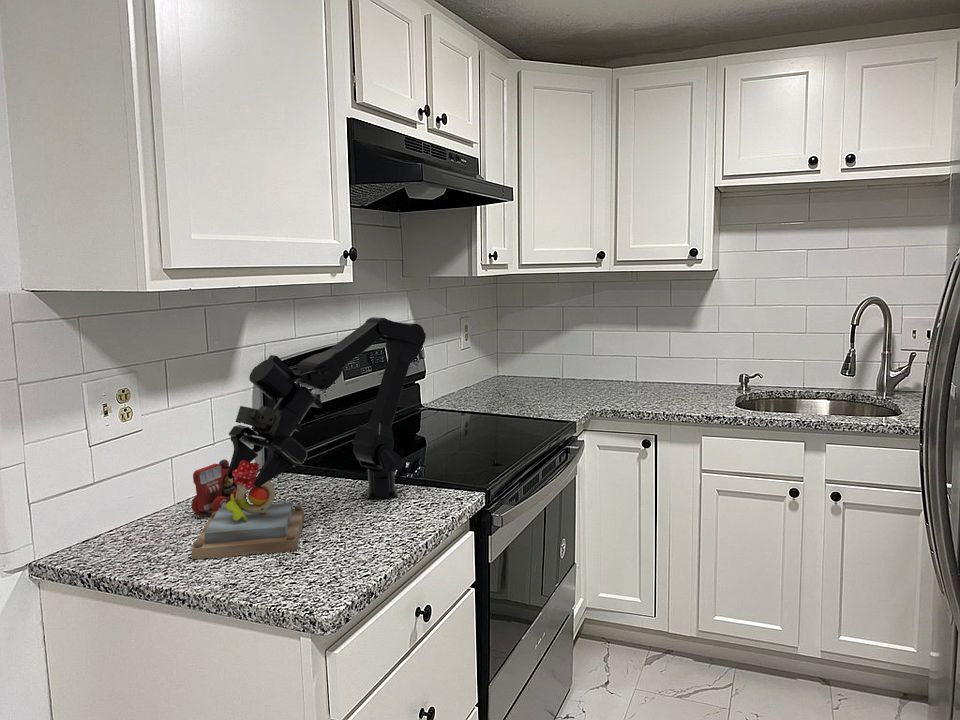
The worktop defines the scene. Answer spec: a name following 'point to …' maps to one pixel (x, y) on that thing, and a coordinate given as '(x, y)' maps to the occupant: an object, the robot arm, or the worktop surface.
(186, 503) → the worktop surface
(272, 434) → the robot arm
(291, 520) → the wooden toy tray
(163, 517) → the worktop surface
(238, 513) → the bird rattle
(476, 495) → the worktop surface
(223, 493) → the toy fire truck
